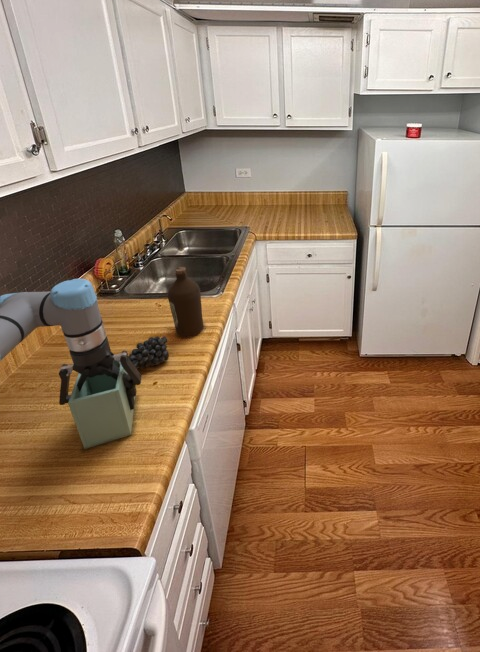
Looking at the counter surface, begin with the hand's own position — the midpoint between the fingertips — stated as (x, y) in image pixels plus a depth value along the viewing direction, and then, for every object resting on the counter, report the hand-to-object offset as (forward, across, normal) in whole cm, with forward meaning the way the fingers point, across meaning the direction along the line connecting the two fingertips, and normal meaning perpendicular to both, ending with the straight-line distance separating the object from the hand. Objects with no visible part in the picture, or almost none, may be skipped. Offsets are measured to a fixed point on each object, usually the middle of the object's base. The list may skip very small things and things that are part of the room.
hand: (109, 411), depth 85 cm
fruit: (+4, +7, +19) cm, 21 cm away
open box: (-4, 0, 0) cm, 4 cm away
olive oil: (+4, +20, +32) cm, 38 cm away
